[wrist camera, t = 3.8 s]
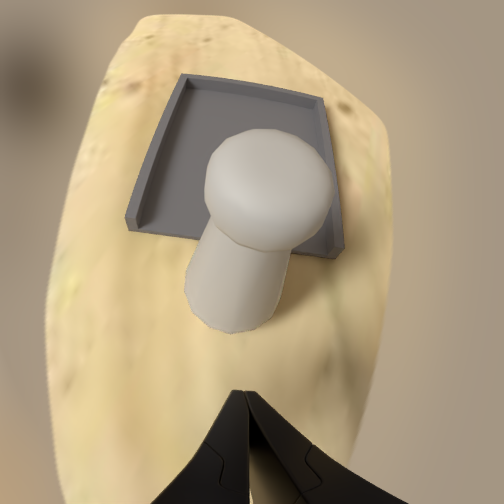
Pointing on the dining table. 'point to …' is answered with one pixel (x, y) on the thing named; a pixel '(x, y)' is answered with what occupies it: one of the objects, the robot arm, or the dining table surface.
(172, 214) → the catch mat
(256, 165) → the salt shaker
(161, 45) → the dining table surface
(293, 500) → the robot arm
